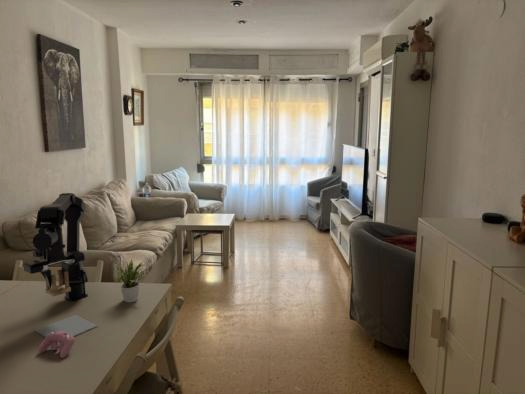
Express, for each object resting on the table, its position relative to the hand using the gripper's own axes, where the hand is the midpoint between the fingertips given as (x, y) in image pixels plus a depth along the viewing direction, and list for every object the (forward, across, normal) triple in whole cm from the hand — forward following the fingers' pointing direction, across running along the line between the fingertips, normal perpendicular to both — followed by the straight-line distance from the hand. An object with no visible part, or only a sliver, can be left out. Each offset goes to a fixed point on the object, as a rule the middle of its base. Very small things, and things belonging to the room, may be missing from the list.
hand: (57, 284), depth 140 cm
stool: (+2, 0, 0) cm, 2 cm away
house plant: (+13, -25, +7) cm, 29 cm away
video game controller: (+14, +11, +20) cm, 27 cm away
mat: (+13, +2, +9) cm, 16 cm away
